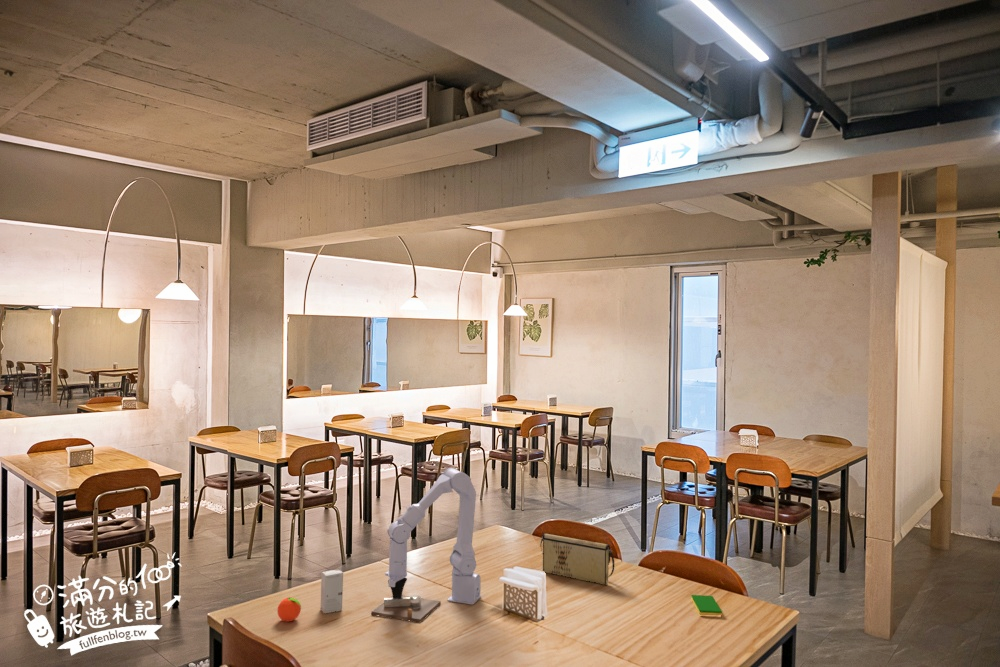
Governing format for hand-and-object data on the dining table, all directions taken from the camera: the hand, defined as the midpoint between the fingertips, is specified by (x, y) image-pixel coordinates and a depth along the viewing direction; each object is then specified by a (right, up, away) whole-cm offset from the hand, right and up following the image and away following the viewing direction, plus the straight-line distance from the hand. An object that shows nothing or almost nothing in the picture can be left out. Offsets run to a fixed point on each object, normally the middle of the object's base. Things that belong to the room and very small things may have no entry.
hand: (396, 601), depth 217 cm
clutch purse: (+62, -5, +33) cm, 71 cm away
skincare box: (-21, -2, -2) cm, 21 cm away
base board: (+3, -2, 0) cm, 4 cm away
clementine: (-31, -2, -11) cm, 33 cm away
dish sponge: (+102, -5, +4) cm, 103 cm away
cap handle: (+2, -1, -1) cm, 2 cm away
